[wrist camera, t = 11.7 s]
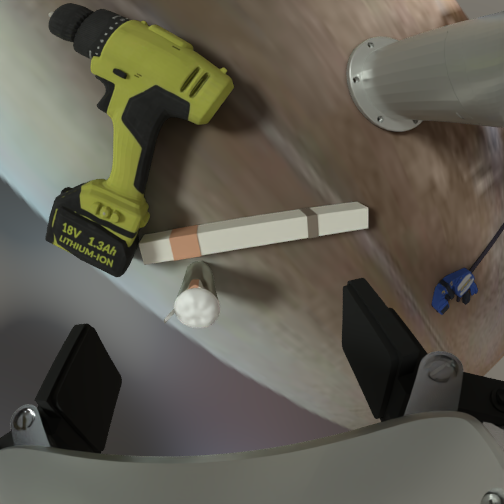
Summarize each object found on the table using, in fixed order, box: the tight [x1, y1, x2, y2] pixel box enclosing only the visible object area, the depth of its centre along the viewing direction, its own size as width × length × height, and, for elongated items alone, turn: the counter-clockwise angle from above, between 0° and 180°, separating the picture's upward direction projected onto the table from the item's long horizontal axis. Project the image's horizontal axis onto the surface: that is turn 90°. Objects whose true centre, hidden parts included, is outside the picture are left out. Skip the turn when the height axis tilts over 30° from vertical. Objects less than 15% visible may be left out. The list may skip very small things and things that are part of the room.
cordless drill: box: [46, 3, 234, 277], centre depth 25 cm, size 7×25×25 cm
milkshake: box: [164, 261, 220, 328], centre depth 32 cm, size 4×5×10 cm
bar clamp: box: [432, 223, 504, 315], centre depth 42 cm, size 32×2×10 cm
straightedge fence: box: [139, 202, 368, 265], centre depth 34 cm, size 26×3×3 cm, turn 97°
